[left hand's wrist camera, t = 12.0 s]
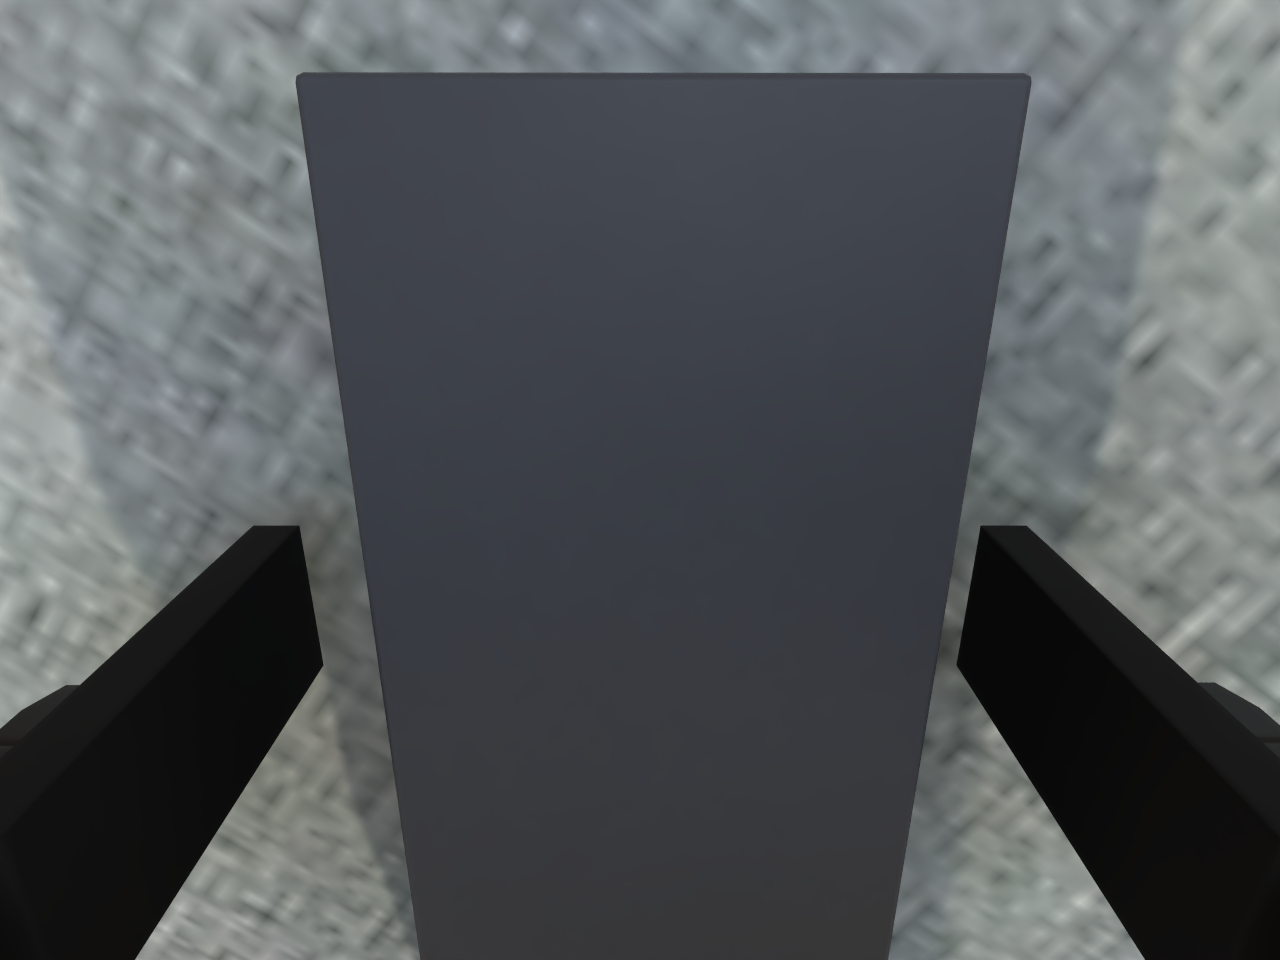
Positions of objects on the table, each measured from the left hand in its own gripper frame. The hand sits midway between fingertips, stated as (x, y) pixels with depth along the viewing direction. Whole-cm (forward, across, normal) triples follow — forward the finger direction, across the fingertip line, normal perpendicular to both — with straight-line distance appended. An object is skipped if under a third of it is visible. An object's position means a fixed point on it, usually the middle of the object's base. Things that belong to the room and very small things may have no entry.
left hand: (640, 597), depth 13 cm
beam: (+3, 0, -18) cm, 18 cm away
